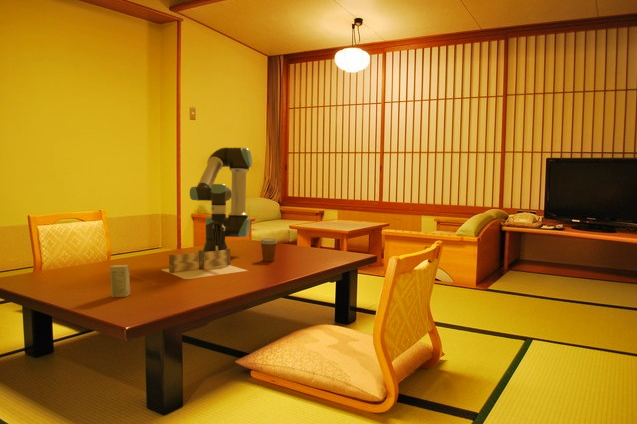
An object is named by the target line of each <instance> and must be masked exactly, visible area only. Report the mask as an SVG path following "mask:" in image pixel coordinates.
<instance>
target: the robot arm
mask: <svg viewBox="0 0 637 424" xmlns="http://www.w3.org/2000/svg"><path fill="white" fill-rule="evenodd" d="M252 158H253V157H252V153H251V150H250V149H249V148H248V147H221V148H219V149H216V150H215V151H214V152H212V153H211V154H210V156H209V157H208V159H207V161H206V167H205V169H204V171H203V173H202V176H201V177H200V179H199V181H198V184H197V185H196V186H191V187H190V189H189V198H190V200H192V201H206V202H208V201H209V202H210V201H211V204H210V205H211V207H210V209H211V215H210V216H208V217H206V218H205V225H204V226H205V243H204V245H203V247H202V248H203V249H202V250H203V252H210V251H220V250H226V249H227V248H228V245H227V242H226V238H246V237H248V235H249V233H250V230H251V225H252V224H251V218H250V217H248V216H249V215H248V214H247V212H246V199H247V198H246V197H247V173H248V172H249V170H250V168H252V166H253V159H252ZM227 167H228V168H229V171H230V172H231V188H230V187H227V185H226V184H225V183H215V181H216V178H217V177H218V174H219V172H220V170H222V168H227ZM230 199H231V200H230ZM227 201H230V212H229V214H228V215H227V214H226V213H227ZM227 216H228V217H227Z"/></svg>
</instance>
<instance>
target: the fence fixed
mask: <svg viewBox="0 0 637 424" xmlns="http://www.w3.org/2000/svg"><path fill="white" fill-rule="evenodd" d="M168 263H169V264H168V267H169V268H168V269H169V272H170V273H174V272H176V271H184V270H192V269H203V249H202V250H198V252H192V253H181V254H180V253H179V254H169V255H168ZM170 273H169V274H170Z"/></svg>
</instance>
